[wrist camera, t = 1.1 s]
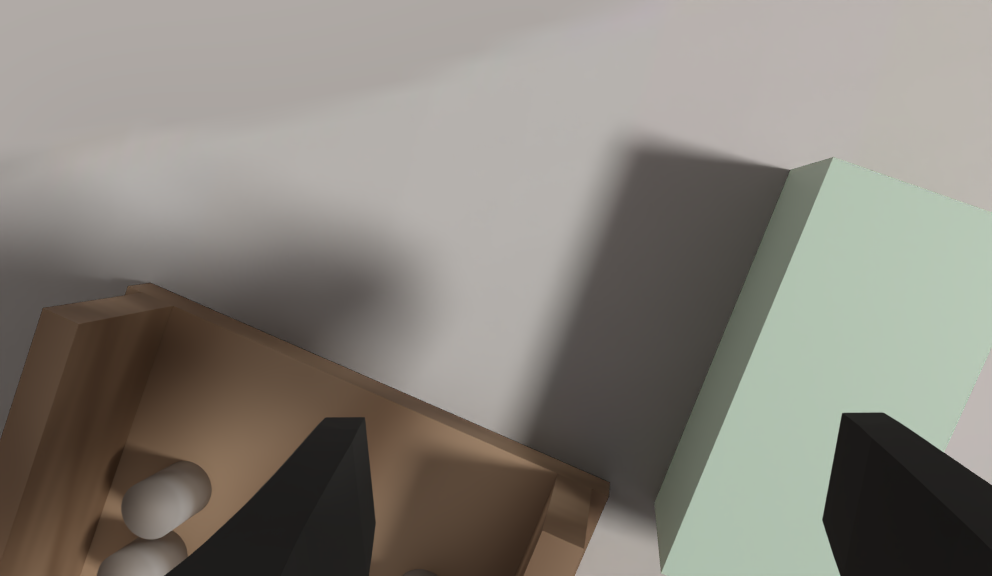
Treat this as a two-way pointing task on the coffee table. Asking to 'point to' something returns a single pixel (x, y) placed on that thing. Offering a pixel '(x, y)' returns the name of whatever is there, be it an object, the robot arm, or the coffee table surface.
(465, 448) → the shelf frame
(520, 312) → the coffee table surface
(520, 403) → the coffee table surface
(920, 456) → the robot arm
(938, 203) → the pale green rectangular block
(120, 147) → the coffee table surface
